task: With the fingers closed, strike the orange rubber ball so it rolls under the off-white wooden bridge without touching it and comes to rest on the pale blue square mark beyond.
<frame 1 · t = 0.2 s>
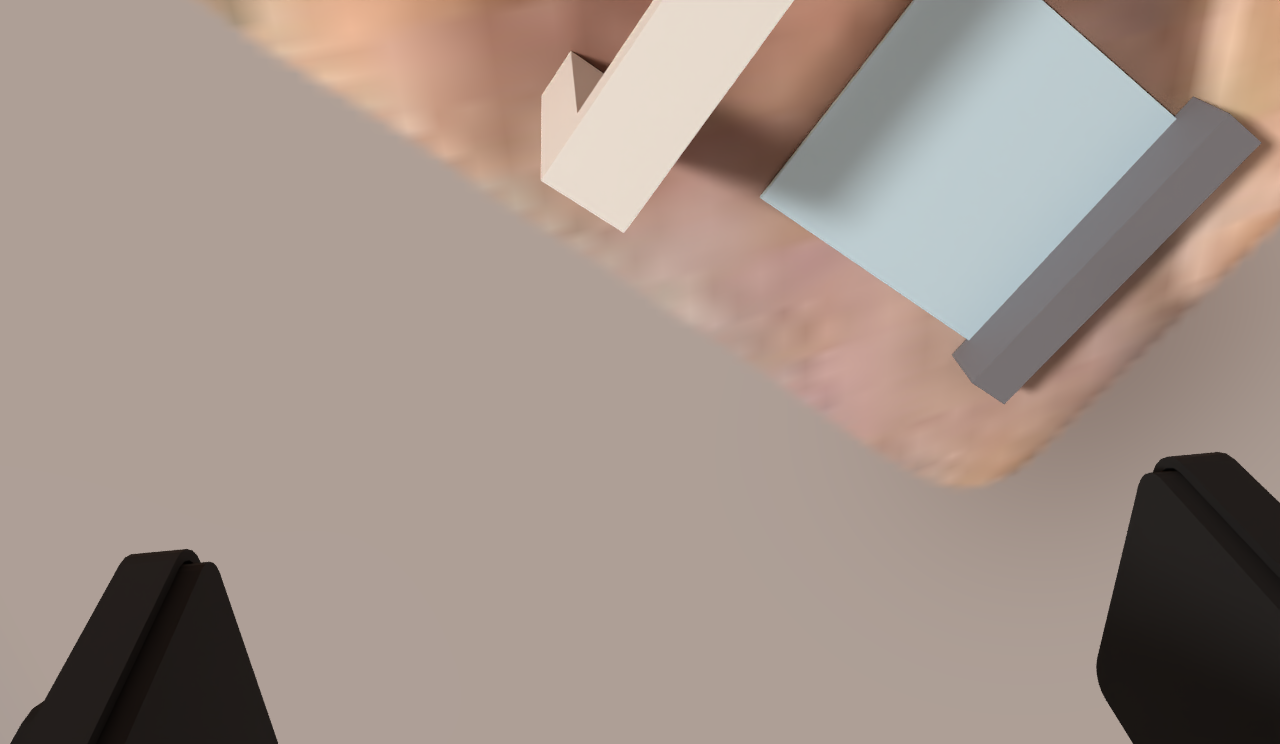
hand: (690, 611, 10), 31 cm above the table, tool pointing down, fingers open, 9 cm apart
stopper wall: (1080, 245, 43), on the table
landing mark: (966, 157, 41), on the table
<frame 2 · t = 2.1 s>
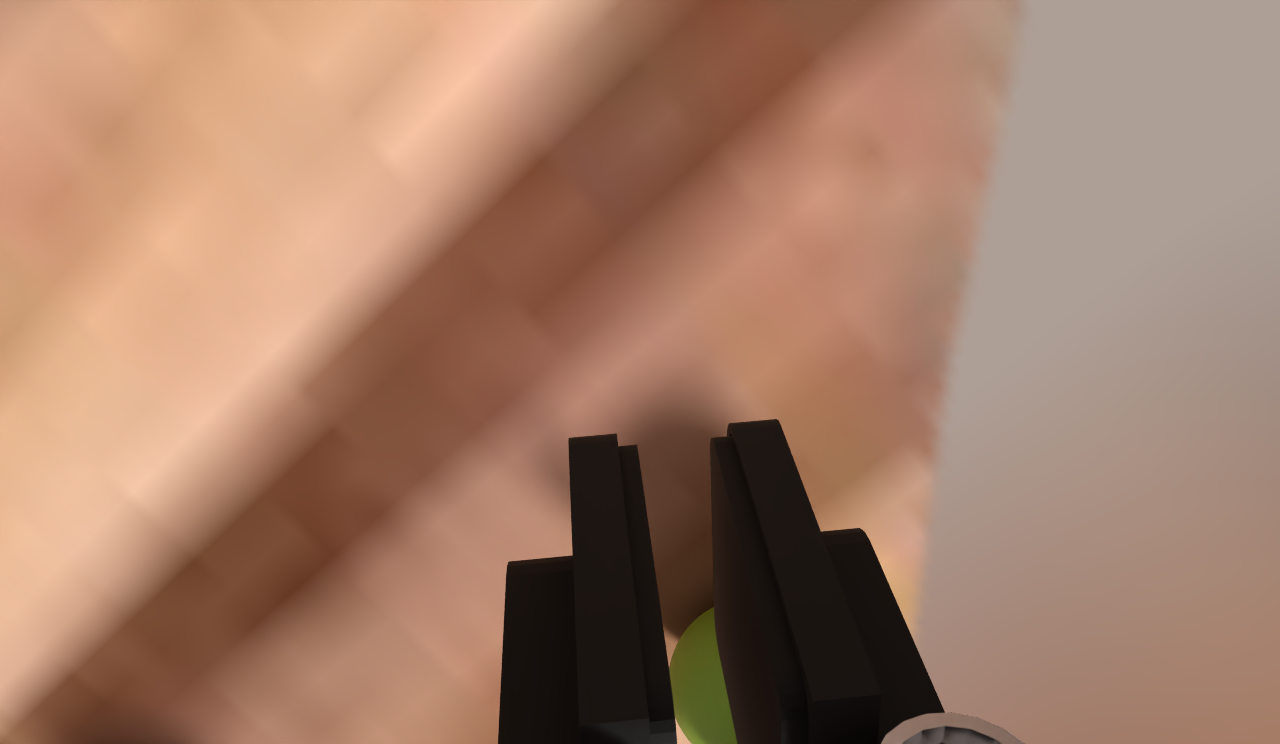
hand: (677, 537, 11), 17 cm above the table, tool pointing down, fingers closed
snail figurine: (724, 626, 36), on the table
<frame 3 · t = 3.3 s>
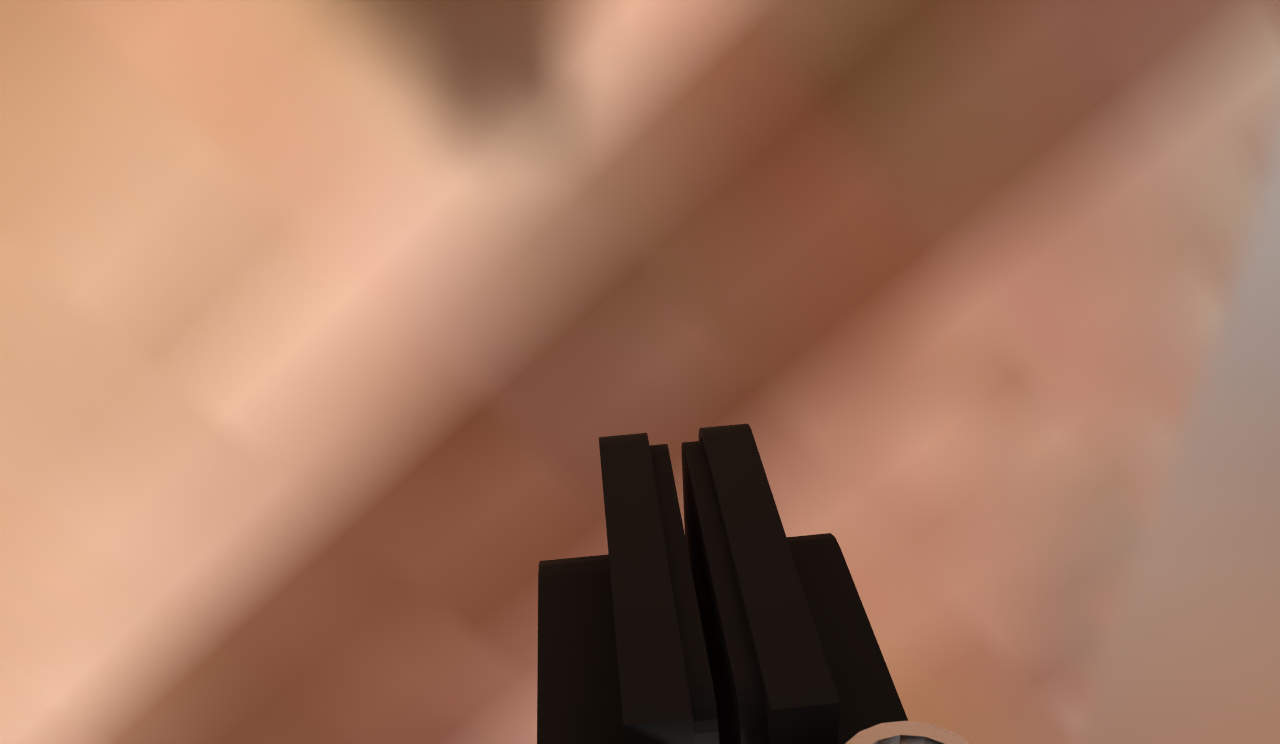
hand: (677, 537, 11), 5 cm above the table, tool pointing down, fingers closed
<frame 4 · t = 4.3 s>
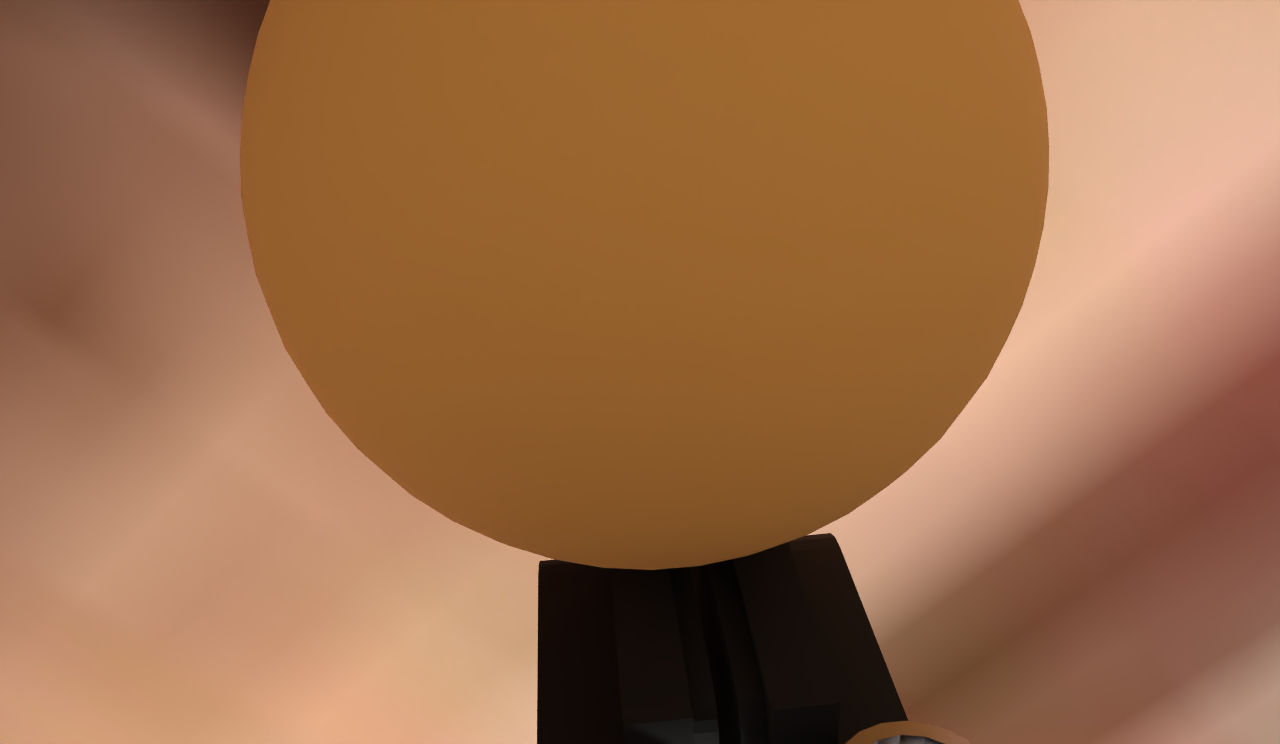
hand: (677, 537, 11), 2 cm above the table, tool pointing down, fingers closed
ball: (643, 186, 8), on the table
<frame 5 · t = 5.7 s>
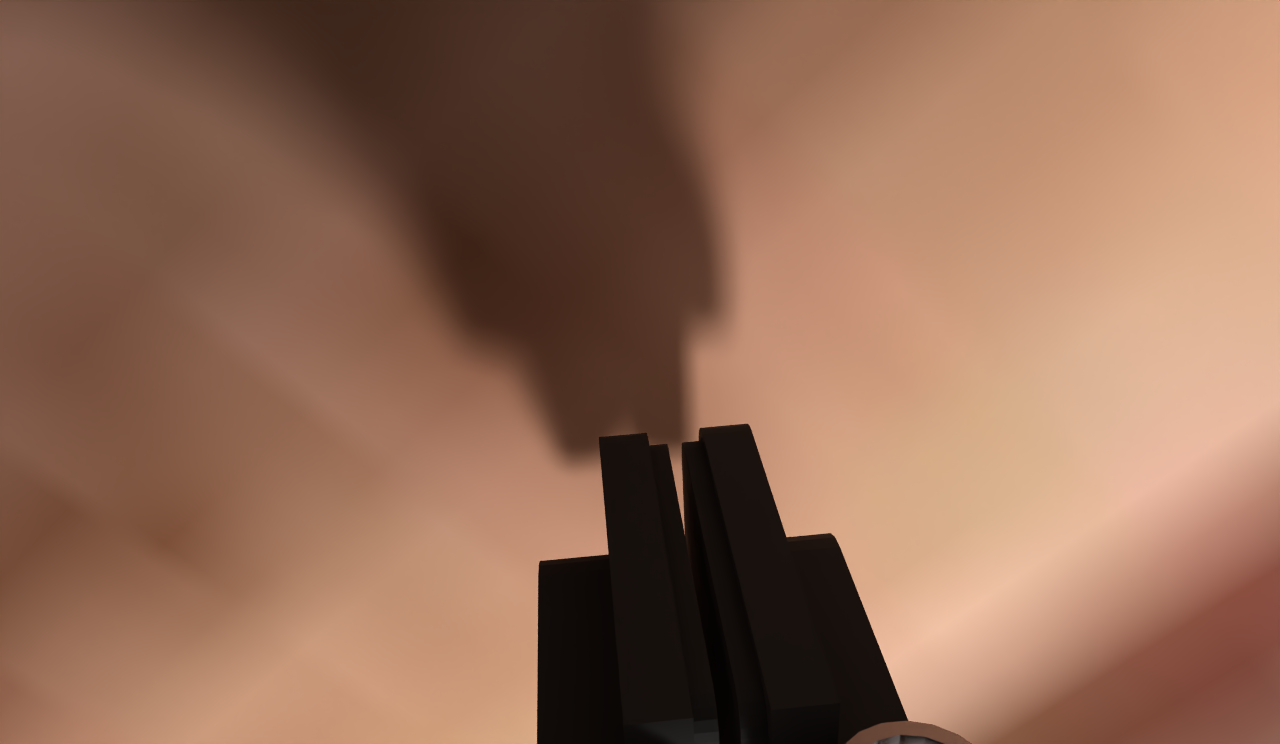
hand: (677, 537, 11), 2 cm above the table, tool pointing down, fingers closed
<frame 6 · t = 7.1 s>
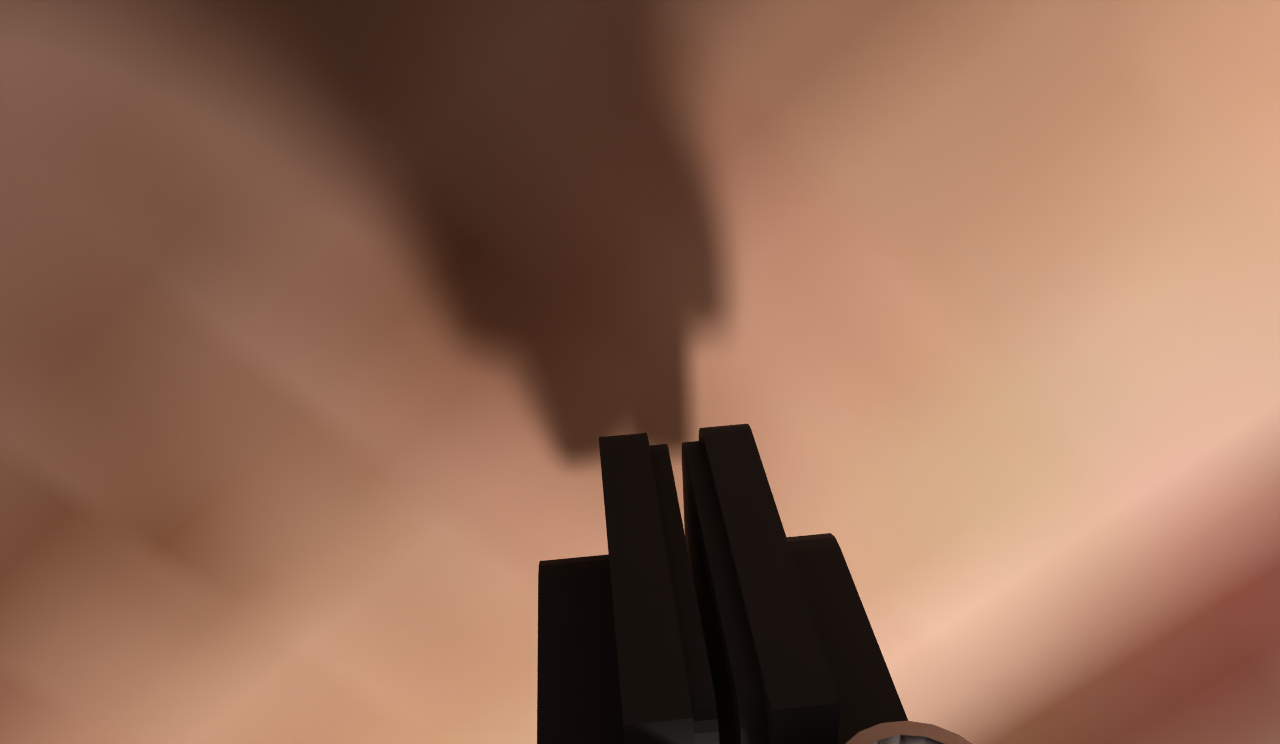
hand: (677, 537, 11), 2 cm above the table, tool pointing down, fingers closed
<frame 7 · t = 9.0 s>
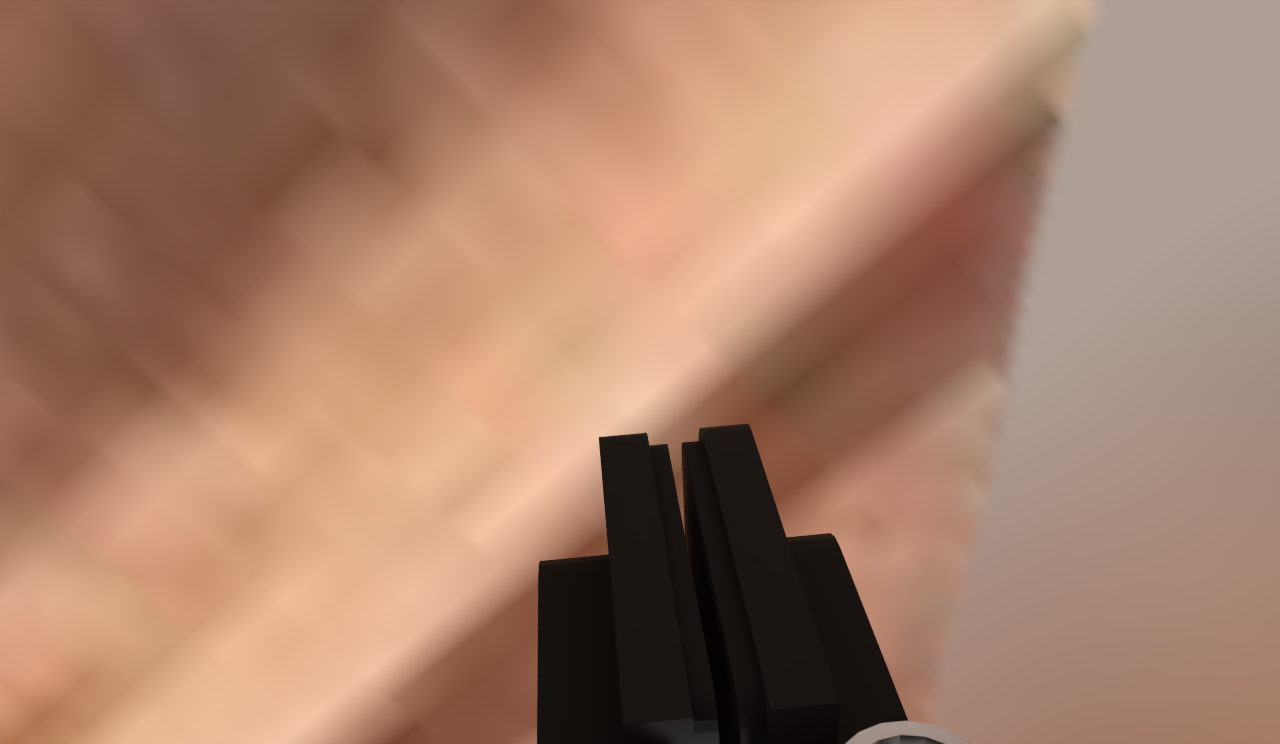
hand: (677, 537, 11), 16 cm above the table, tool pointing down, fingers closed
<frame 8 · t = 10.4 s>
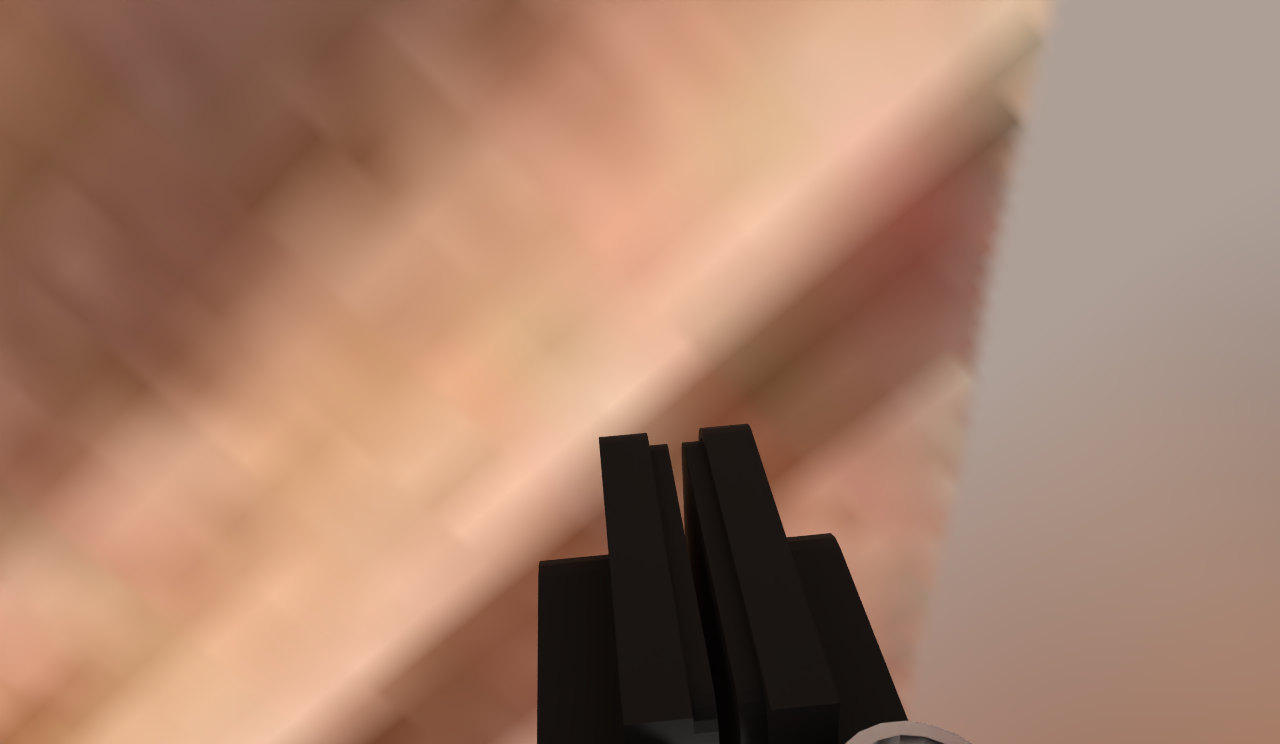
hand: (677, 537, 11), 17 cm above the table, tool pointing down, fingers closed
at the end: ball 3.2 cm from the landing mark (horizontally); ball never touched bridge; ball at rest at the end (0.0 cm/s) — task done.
